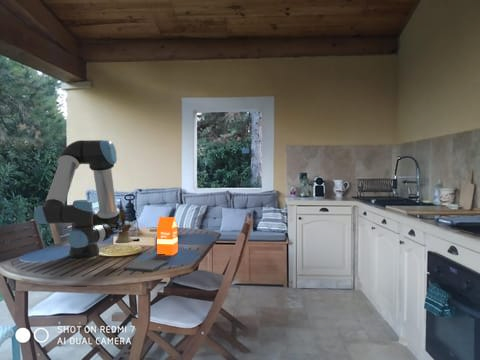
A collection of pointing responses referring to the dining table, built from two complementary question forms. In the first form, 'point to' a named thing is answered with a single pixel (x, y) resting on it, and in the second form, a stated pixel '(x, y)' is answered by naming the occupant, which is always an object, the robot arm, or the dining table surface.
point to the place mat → (146, 265)
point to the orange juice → (167, 236)
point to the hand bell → (123, 236)
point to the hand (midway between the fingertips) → (130, 224)
